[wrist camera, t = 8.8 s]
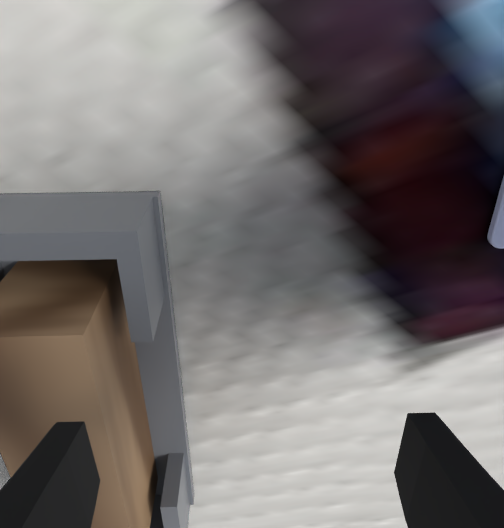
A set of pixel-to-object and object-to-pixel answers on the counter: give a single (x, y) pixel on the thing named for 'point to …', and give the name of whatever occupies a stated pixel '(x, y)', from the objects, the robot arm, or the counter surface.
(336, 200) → the counter surface
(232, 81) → the counter surface
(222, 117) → the counter surface
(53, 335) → the slat
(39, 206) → the cradle
